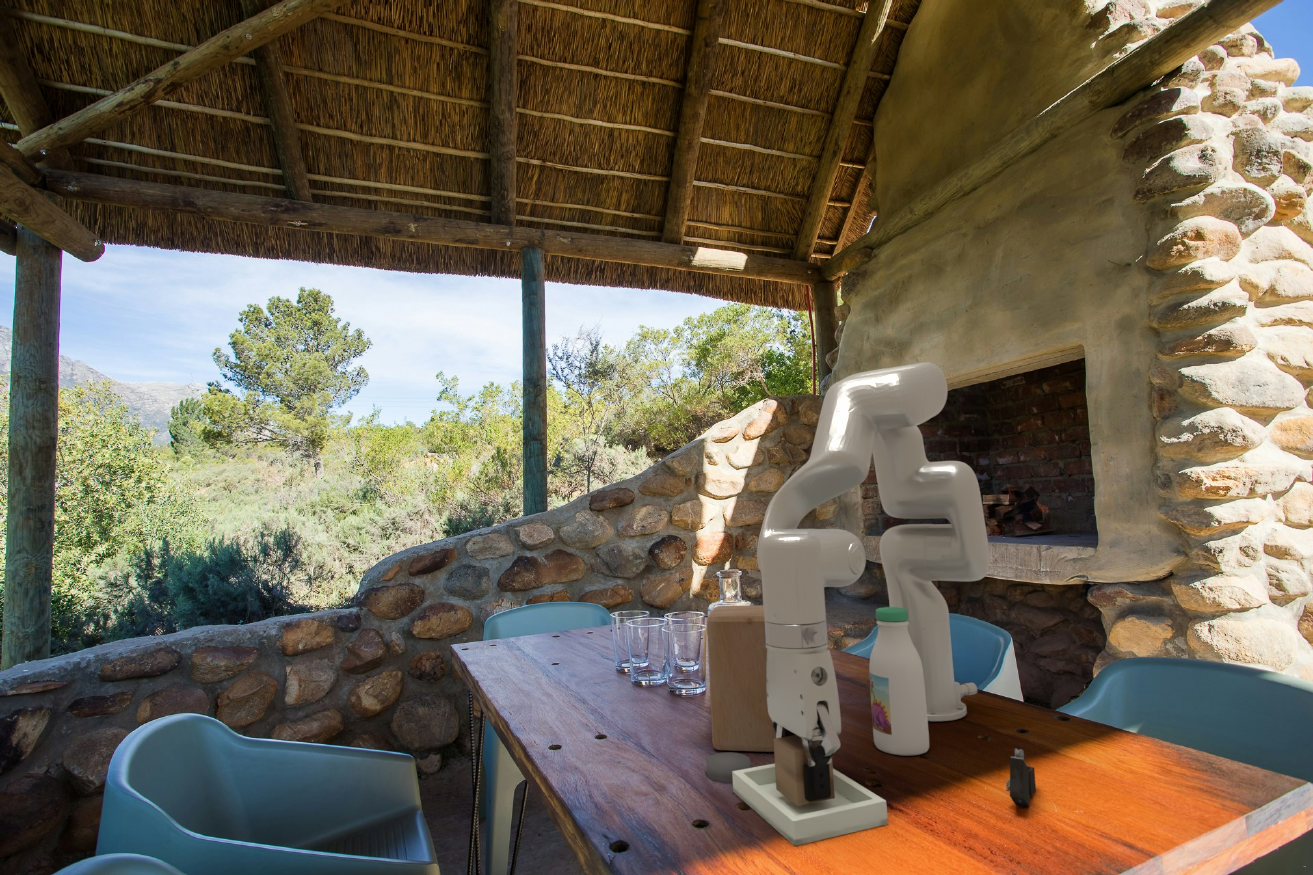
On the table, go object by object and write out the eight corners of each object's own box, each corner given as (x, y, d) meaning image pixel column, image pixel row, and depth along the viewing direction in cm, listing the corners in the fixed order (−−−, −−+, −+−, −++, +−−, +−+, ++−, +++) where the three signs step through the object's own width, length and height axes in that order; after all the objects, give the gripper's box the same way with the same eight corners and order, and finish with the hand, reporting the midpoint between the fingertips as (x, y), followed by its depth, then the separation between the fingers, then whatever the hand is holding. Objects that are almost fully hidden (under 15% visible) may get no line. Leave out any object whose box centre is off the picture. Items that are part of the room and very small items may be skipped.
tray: (814, 775, 90) (813, 756, 90) (887, 824, 75) (886, 800, 76) (733, 791, 86) (732, 771, 86) (794, 845, 71) (793, 821, 72)
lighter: (1015, 812, 82) (1015, 763, 85) (1036, 816, 81) (1035, 767, 84) (1002, 794, 77) (1002, 743, 80) (1024, 798, 76) (1024, 746, 79)
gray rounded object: (739, 764, 95) (738, 749, 95) (759, 779, 90) (758, 764, 90) (700, 771, 93) (699, 756, 93) (717, 787, 88) (717, 771, 88)
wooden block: (780, 754, 98) (772, 614, 100) (711, 752, 100) (705, 614, 102) (781, 731, 107) (774, 604, 109) (719, 729, 109) (713, 604, 111)
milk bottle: (928, 740, 101) (917, 604, 103) (931, 759, 94) (920, 613, 96) (874, 736, 103) (865, 604, 105) (873, 754, 96) (863, 612, 98)
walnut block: (811, 782, 84) (808, 732, 84) (834, 797, 79) (831, 745, 80) (776, 789, 82) (773, 738, 83) (797, 805, 78) (794, 751, 78)
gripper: (864, 644, 76) (875, 812, 74) (787, 621, 92) (795, 760, 90) (806, 651, 73) (817, 826, 72) (737, 627, 89) (745, 769, 88)
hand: (804, 787), depth 81 cm, fingers closed on walnut block, 5 cm apart
